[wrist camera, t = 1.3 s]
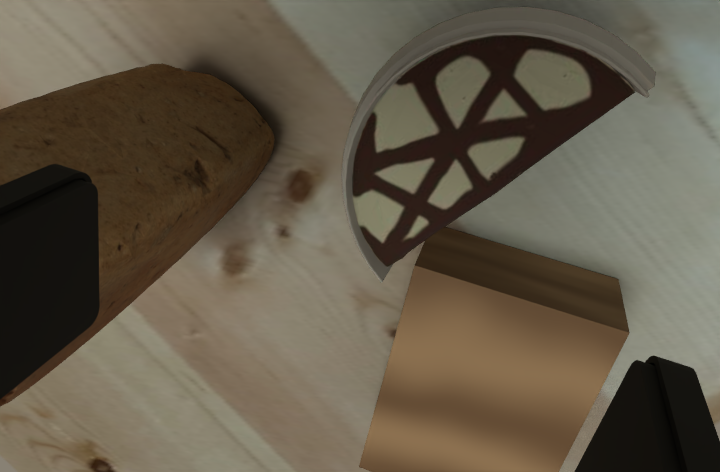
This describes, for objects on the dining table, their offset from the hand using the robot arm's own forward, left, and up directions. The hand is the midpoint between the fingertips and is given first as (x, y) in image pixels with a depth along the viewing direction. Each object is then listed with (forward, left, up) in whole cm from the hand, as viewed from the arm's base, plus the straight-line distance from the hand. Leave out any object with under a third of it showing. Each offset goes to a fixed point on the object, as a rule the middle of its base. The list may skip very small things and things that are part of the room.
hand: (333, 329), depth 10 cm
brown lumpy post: (+8, -14, -22) cm, 27 cm away
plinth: (+15, +5, -22) cm, 27 cm away
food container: (0, 0, -22) cm, 22 cm away
